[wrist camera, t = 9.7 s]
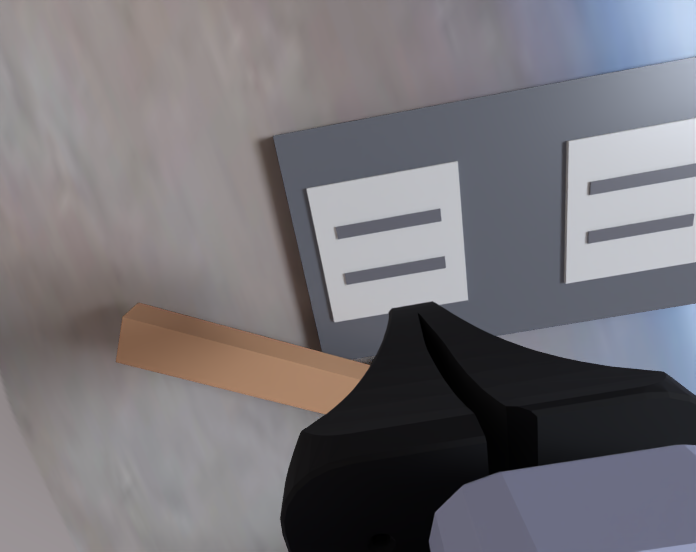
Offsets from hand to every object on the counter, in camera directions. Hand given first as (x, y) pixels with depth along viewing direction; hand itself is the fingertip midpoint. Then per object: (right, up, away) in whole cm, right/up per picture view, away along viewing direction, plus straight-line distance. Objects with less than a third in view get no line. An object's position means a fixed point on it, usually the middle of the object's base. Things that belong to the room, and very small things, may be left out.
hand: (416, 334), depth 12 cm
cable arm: (-5, -3, +9) cm, 10 cm away
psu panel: (+6, +5, +9) cm, 11 cm away
